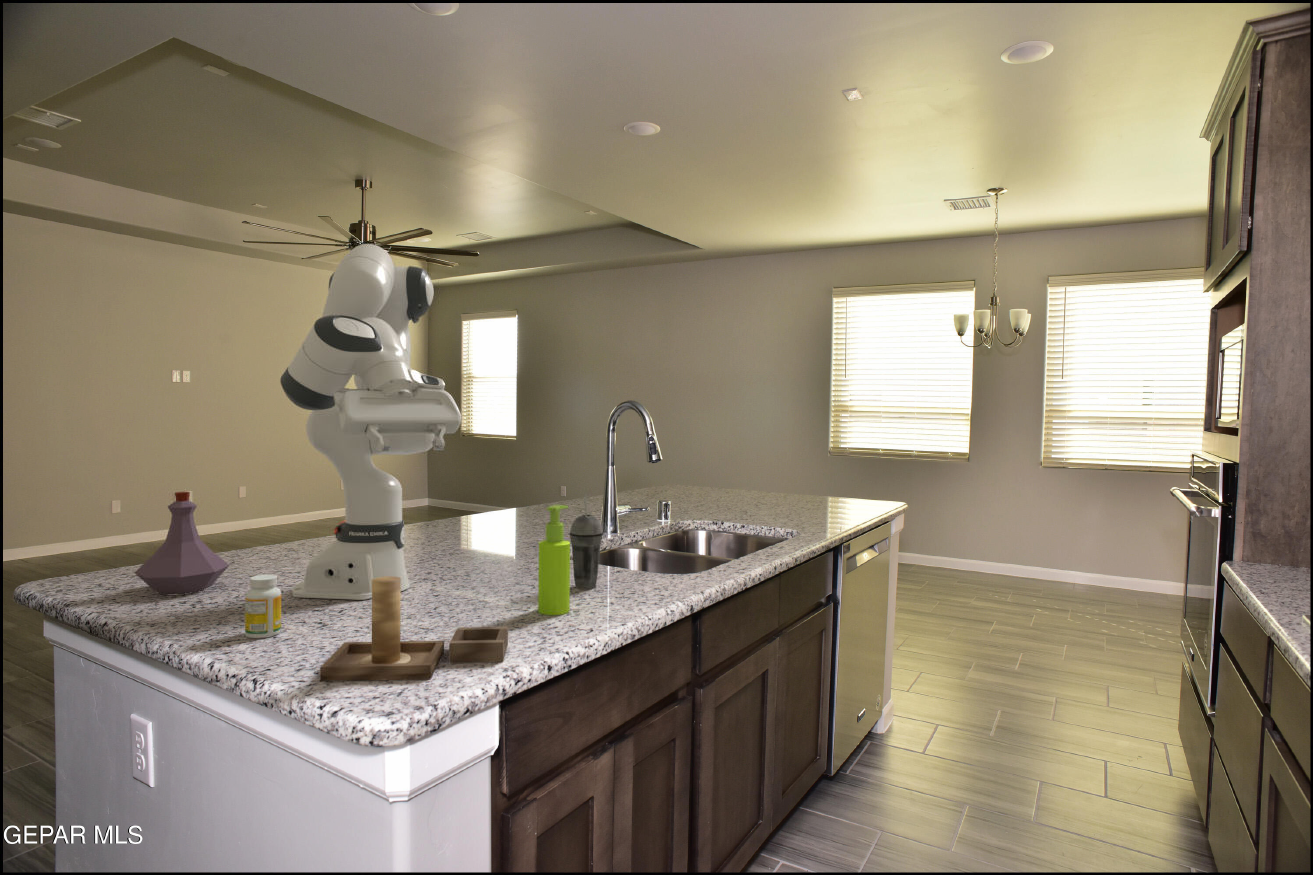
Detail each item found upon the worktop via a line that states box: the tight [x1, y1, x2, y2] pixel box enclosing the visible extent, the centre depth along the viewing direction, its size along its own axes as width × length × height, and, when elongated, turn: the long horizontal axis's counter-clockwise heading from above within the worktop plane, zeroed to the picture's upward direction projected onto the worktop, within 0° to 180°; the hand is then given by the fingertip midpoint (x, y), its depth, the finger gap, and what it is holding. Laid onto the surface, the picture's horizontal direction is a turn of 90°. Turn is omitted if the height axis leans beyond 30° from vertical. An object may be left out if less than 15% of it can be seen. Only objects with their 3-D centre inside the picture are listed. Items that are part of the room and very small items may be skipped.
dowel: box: [371, 576, 402, 664], centre depth 110 cm, size 4×4×12 cm
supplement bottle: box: [244, 574, 282, 639], centre depth 124 cm, size 5×5×10 cm
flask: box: [134, 491, 230, 595], centre depth 152 cm, size 16×16×20 cm
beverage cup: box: [568, 494, 604, 590], centre depth 159 cm, size 7×7×20 cm
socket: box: [448, 626, 509, 664], centre depth 116 cm, size 8×8×3 cm
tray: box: [319, 640, 445, 683], centre depth 110 cm, size 15×11×2 cm
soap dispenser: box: [537, 504, 571, 616], centre depth 141 cm, size 6×7×20 cm
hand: (413, 448), depth 125 cm, fingers open, 8 cm apart
